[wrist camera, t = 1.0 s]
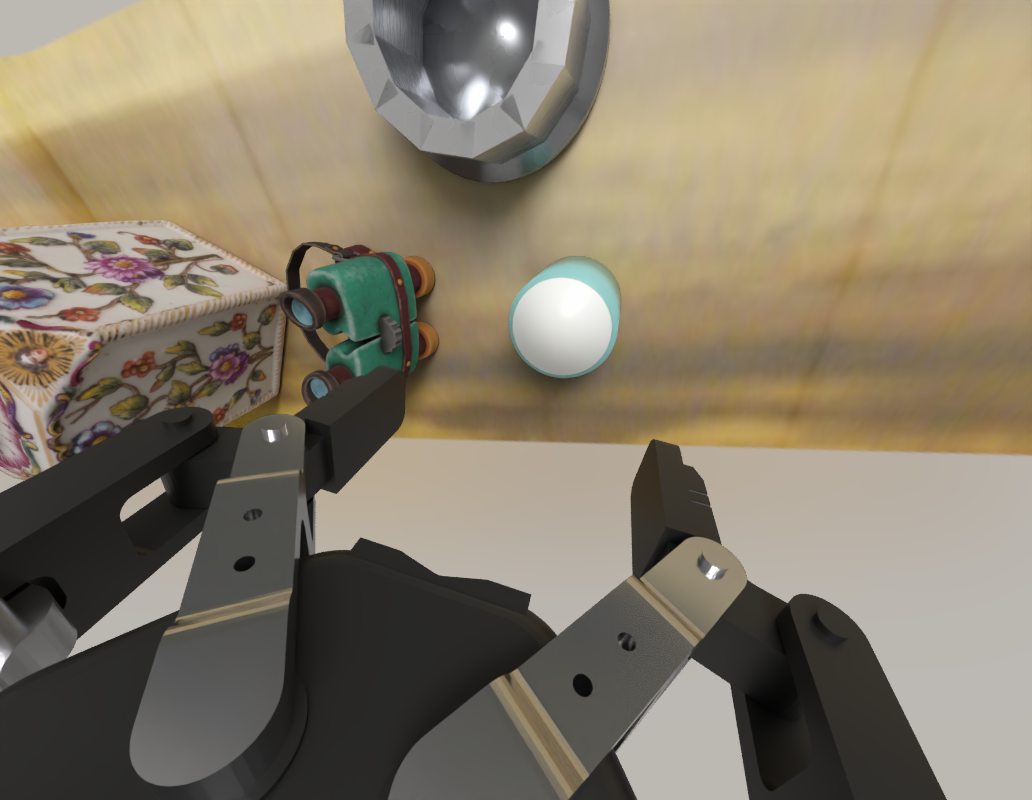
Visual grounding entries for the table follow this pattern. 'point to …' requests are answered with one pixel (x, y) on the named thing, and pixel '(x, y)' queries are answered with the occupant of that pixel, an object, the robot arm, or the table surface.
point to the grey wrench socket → (482, 76)
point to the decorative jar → (125, 334)
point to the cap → (567, 317)
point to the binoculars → (359, 312)
